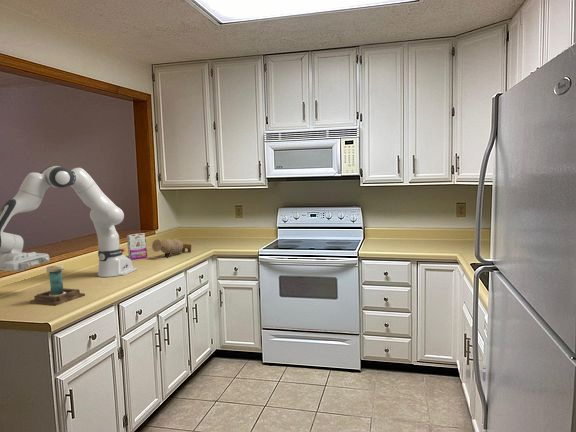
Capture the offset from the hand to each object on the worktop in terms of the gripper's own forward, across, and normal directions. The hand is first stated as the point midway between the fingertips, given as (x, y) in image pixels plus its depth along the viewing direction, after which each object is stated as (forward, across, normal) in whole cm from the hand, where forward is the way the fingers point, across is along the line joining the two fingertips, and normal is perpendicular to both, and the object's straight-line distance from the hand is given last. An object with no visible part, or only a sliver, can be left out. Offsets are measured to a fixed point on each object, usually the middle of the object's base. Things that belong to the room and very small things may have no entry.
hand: (39, 262), depth 211 cm
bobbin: (+12, -3, +15) cm, 20 cm away
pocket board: (+12, -3, +16) cm, 20 cm away
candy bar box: (-19, +87, +19) cm, 91 cm away
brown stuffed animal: (0, +100, +20) cm, 102 cm away
